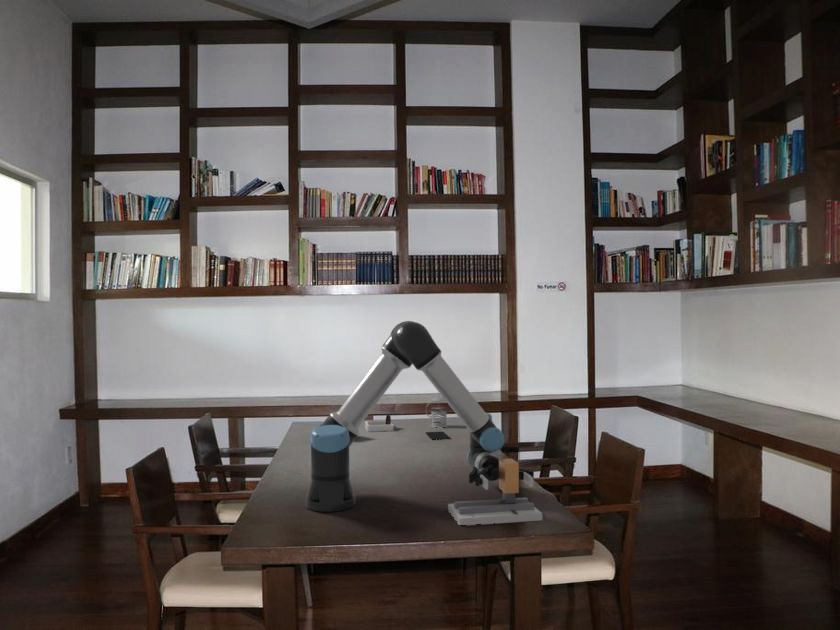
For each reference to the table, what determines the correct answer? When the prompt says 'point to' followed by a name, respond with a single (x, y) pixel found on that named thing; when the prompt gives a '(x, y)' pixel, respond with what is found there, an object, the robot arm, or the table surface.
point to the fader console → (493, 512)
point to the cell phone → (437, 435)
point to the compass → (388, 419)
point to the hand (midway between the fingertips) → (509, 483)
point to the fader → (508, 480)
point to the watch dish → (378, 426)
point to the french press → (439, 411)
